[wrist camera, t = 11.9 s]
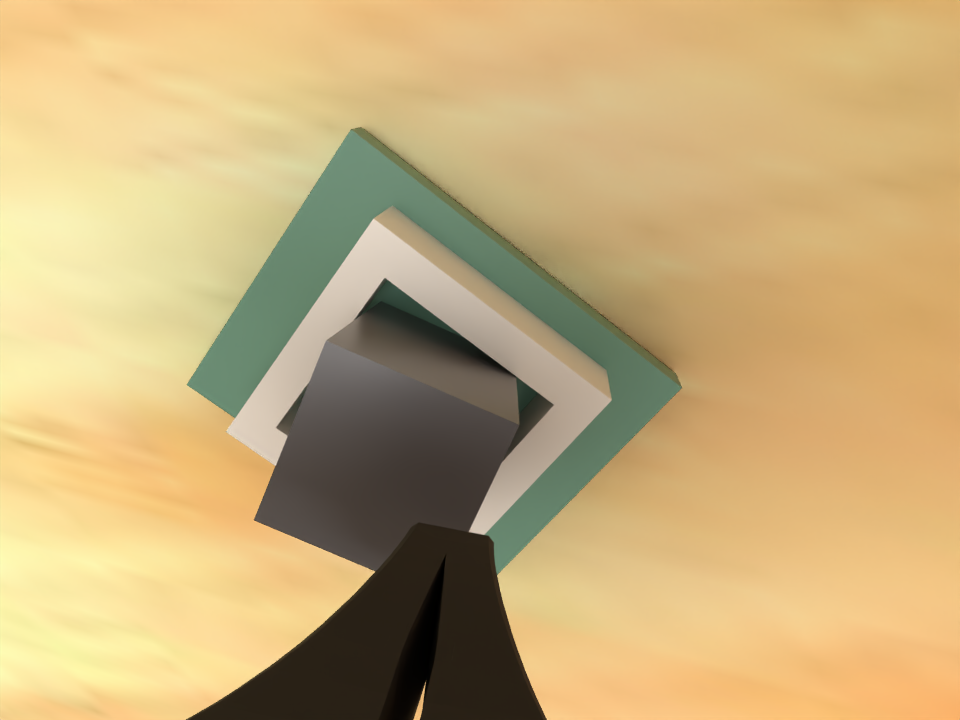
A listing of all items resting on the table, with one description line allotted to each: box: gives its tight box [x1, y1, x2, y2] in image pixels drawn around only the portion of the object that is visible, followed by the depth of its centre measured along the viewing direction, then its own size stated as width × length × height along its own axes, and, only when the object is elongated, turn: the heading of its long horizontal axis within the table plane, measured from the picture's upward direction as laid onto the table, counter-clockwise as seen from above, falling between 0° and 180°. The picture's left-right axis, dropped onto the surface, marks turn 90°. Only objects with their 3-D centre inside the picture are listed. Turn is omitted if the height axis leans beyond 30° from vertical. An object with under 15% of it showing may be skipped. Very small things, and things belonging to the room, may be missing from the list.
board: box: [187, 128, 682, 575], centre depth 20 cm, size 11×9×1 cm
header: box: [226, 205, 612, 535], centre depth 19 cm, size 7×7×2 cm
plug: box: [254, 301, 520, 571], centre depth 17 cm, size 4×6×6 cm
